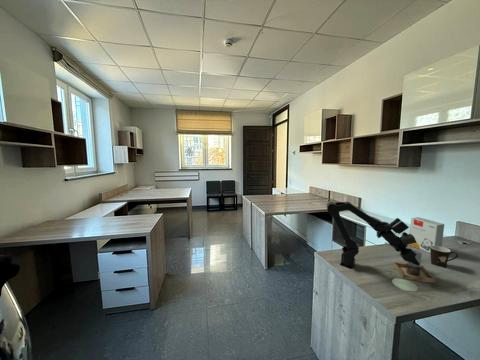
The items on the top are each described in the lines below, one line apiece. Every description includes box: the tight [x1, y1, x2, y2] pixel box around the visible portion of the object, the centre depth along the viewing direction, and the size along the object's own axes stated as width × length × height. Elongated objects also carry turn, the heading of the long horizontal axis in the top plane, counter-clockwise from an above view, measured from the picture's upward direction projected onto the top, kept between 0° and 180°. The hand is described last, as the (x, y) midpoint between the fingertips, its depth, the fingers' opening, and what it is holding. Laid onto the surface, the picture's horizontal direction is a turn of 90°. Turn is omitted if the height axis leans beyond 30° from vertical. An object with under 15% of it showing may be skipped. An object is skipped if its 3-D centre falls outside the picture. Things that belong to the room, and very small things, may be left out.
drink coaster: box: [391, 277, 419, 292], centre depth 103 cm, size 10×10×1 cm
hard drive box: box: [408, 216, 445, 254], centre depth 140 cm, size 16×8×20 cm, turn 17°
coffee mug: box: [429, 245, 458, 268], centre depth 119 cm, size 12×9×10 cm
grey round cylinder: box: [406, 249, 423, 276], centre depth 111 cm, size 6×6×12 cm
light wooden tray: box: [392, 261, 437, 284], centre depth 112 cm, size 14×14×2 cm
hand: (414, 260), depth 111 cm, fingers open, 9 cm apart
